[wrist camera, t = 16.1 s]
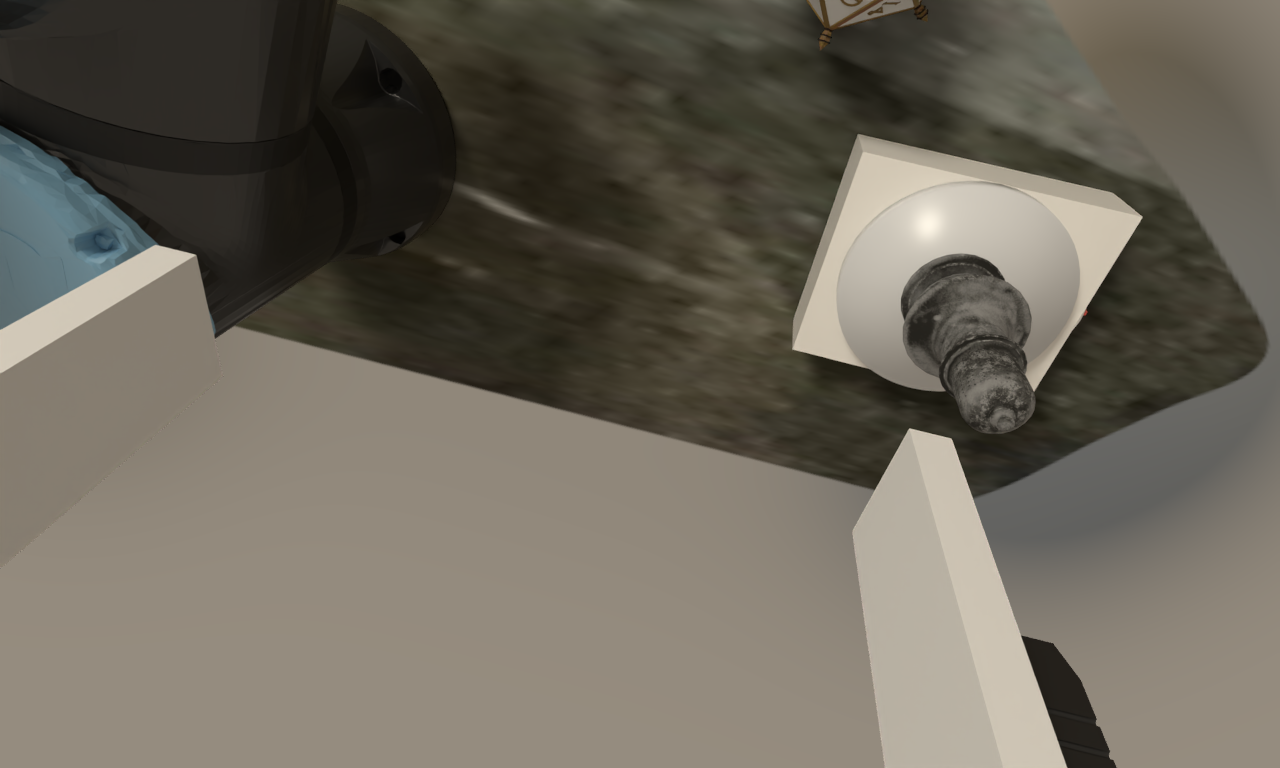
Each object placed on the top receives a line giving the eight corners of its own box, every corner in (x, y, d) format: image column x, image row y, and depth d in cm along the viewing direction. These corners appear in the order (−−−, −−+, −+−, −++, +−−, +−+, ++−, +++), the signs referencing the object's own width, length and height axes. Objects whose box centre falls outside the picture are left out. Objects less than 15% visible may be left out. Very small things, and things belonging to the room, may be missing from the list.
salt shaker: (1029, 319, 36) (1114, 458, 26) (920, 363, 39) (960, 504, 29) (989, 227, 34) (1064, 341, 24) (876, 280, 37) (903, 402, 27)
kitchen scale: (793, 319, 45) (792, 357, 40) (857, 133, 38) (864, 156, 34) (1014, 375, 44) (1035, 419, 39) (1120, 194, 37) (1161, 225, 33)
